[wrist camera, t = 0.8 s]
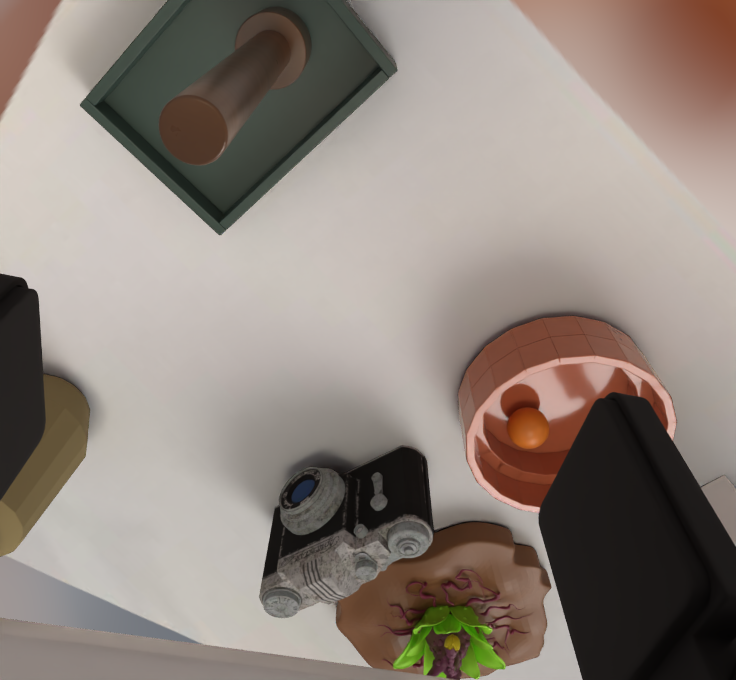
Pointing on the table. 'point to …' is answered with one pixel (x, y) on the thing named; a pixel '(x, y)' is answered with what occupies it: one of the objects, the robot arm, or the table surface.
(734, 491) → the white figure sculpture
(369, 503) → the camera
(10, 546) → the squeeze bottle
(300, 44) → the brown wooden rod
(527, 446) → the ball
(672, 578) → the robot arm
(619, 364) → the copper shallow cylinder
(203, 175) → the spoon tray
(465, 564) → the plant
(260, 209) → the table surface
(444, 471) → the table surface
